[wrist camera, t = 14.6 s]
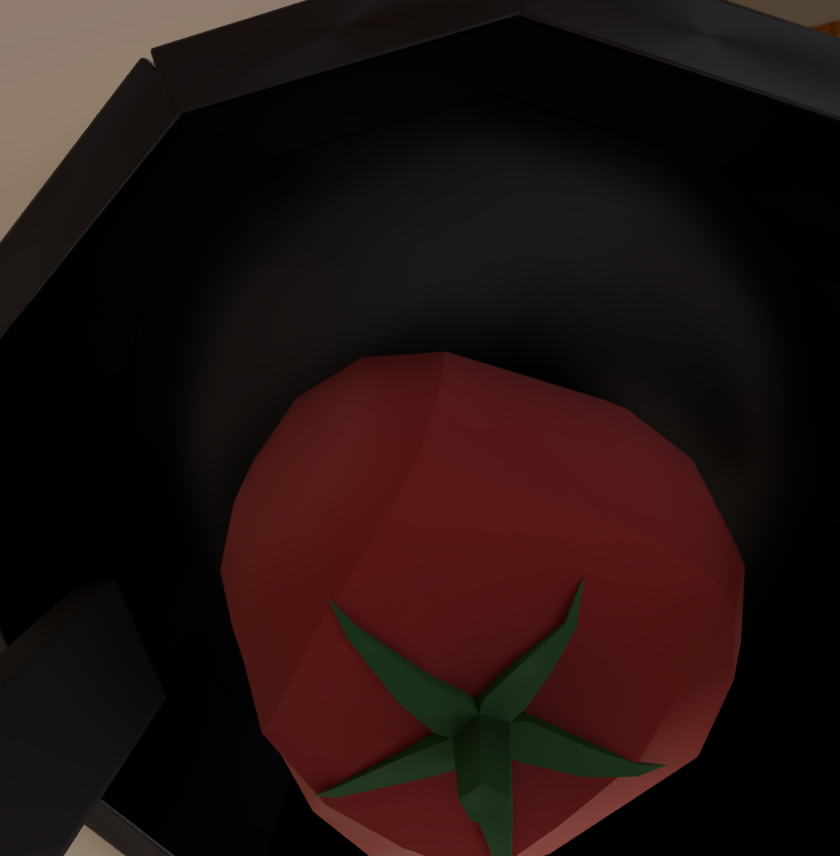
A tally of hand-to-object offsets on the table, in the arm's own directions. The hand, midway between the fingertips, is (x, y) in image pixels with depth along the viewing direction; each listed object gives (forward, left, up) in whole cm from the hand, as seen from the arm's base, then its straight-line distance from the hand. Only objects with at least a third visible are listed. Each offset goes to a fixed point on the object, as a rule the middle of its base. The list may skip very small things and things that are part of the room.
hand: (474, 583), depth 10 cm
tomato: (0, 0, -3) cm, 3 cm away
